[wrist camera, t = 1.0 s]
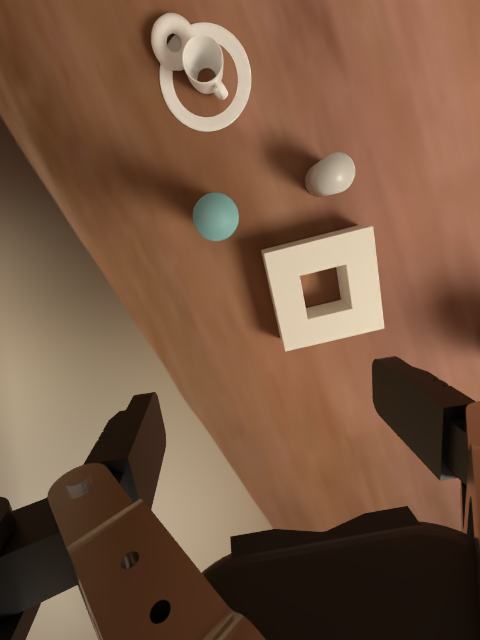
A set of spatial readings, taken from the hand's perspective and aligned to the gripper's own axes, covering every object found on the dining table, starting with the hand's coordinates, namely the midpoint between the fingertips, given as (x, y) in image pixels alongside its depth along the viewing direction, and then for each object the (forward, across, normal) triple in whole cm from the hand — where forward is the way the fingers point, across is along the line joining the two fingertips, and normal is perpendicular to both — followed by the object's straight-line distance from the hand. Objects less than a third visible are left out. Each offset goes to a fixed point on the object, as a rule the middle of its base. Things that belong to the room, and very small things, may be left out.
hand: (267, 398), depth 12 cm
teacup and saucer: (+22, -1, -22) cm, 31 cm away
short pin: (+21, -10, -10) cm, 25 cm away
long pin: (+22, 0, -8) cm, 24 cm away
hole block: (+22, -9, 0) cm, 24 cm away
